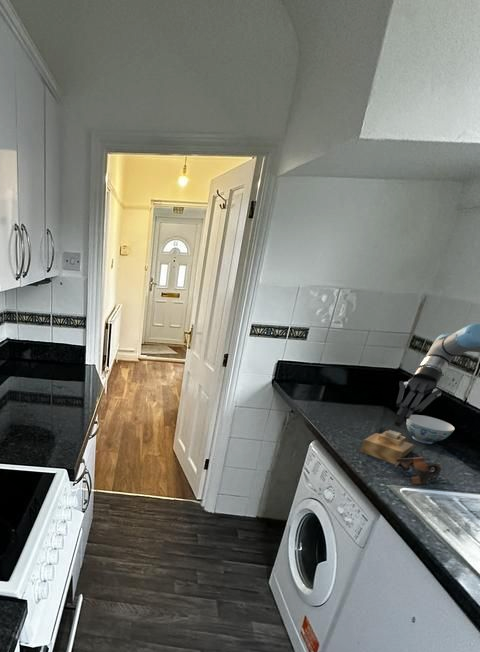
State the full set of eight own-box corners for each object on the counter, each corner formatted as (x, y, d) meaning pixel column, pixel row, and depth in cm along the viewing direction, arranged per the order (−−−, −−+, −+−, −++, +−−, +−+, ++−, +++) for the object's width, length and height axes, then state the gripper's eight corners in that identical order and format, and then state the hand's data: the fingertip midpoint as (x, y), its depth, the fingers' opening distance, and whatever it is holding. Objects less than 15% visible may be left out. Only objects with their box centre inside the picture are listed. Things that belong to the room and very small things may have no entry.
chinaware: (398, 429, 171) (405, 411, 168) (442, 439, 165) (451, 421, 162) (401, 441, 160) (409, 423, 156) (449, 453, 153) (458, 434, 150)
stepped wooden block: (408, 457, 147) (415, 439, 144) (397, 465, 140) (405, 447, 138) (371, 445, 155) (377, 428, 153) (359, 452, 149) (365, 434, 146)
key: (399, 437, 146) (401, 433, 146) (396, 440, 144) (397, 435, 143) (388, 434, 149) (389, 429, 148) (384, 436, 147) (386, 432, 146)
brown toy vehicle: (402, 485, 129) (399, 458, 130) (390, 483, 138) (387, 458, 139) (448, 483, 126) (445, 456, 126) (433, 481, 135) (429, 456, 135)
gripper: (451, 382, 146) (418, 436, 143) (408, 373, 156) (377, 423, 152) (453, 370, 141) (419, 425, 138) (409, 361, 150) (376, 413, 147)
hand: (397, 424), depth 145 cm, fingers closed
